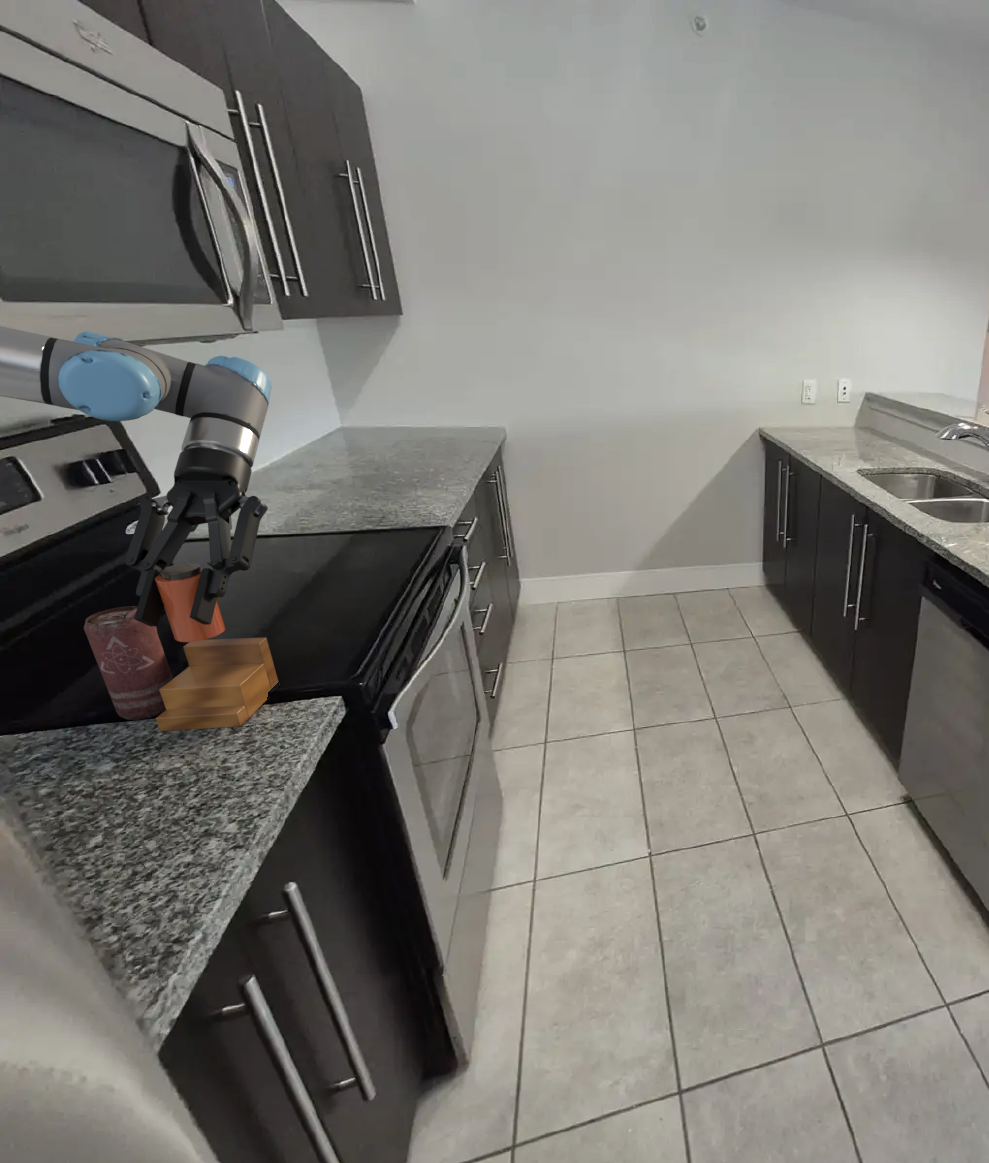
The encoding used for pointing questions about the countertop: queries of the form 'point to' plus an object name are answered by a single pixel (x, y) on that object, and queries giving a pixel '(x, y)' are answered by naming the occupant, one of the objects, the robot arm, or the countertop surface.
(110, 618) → the can
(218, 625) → the spice jar
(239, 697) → the wooden stair steps
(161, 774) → the countertop surface
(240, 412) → the robot arm
